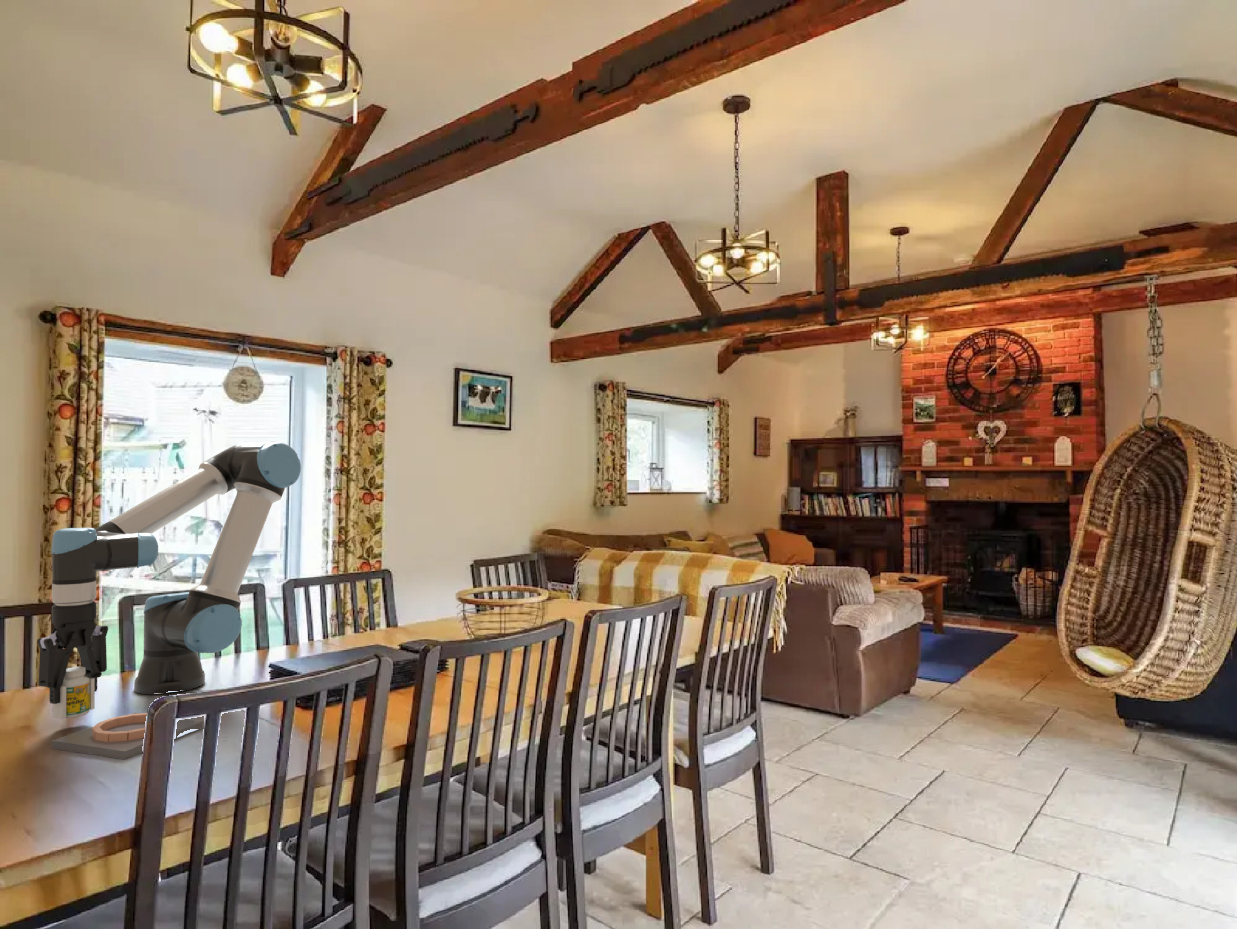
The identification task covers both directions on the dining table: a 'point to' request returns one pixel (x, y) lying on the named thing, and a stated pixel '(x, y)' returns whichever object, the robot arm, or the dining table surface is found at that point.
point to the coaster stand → (115, 736)
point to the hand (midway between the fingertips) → (73, 713)
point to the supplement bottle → (76, 692)
